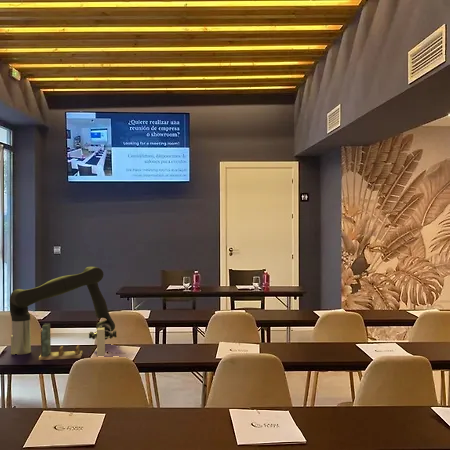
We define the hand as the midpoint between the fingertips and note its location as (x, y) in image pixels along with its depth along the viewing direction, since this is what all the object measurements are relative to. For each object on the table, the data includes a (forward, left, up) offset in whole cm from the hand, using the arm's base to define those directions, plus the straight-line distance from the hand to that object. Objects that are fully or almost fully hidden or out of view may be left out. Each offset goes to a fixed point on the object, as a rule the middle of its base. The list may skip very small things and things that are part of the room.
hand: (102, 337), depth 291 cm
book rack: (-20, -7, -8) cm, 22 cm away
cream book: (0, -11, -8) cm, 13 cm away
